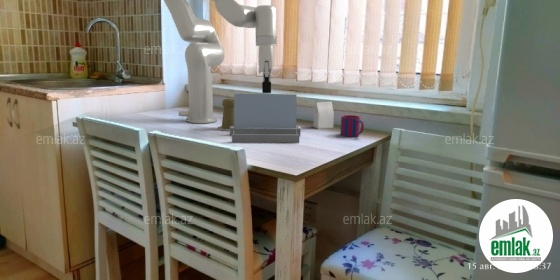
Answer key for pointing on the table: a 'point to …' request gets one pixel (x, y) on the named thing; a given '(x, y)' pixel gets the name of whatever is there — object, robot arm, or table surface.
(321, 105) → the white printed box
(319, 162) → the table surface
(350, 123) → the mug
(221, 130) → the pad
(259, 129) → the bar
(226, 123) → the cork
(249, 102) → the panel
